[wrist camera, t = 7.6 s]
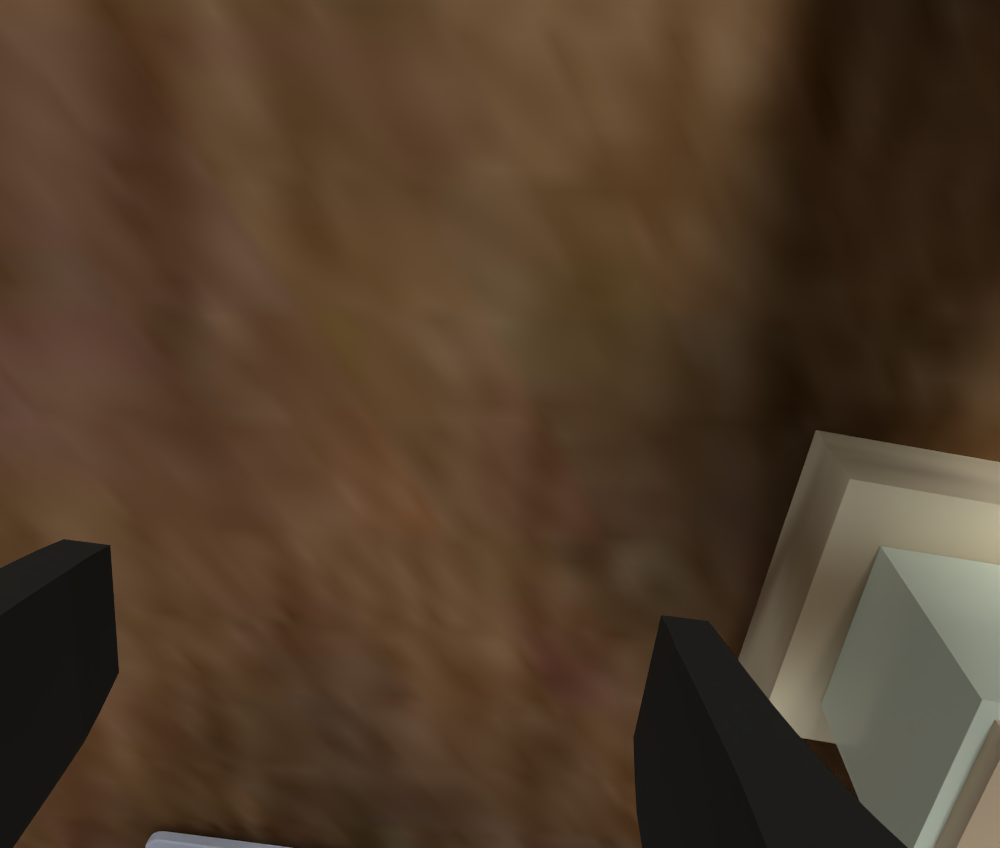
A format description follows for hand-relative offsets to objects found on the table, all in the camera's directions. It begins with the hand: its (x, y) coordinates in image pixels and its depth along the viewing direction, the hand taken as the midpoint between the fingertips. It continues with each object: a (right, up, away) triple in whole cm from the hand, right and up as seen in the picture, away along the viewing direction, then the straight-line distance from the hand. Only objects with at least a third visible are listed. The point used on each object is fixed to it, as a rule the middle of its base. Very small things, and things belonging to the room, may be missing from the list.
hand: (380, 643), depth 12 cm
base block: (+12, -1, +12) cm, 17 cm away
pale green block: (+12, -2, +9) cm, 15 cm away
